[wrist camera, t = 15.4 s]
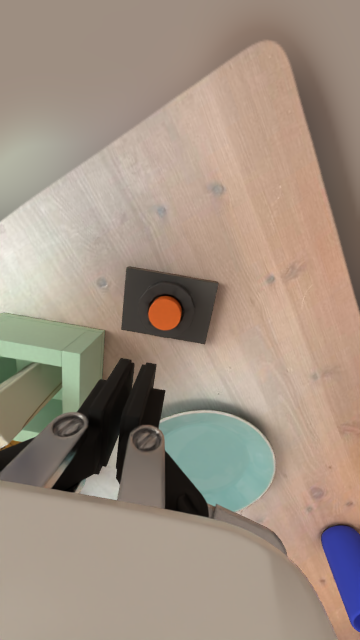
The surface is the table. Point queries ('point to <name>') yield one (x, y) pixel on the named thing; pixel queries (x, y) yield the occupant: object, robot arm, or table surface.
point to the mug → (345, 566)
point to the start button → (165, 313)
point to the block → (186, 290)
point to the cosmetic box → (26, 397)
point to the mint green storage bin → (52, 361)
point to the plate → (220, 456)
